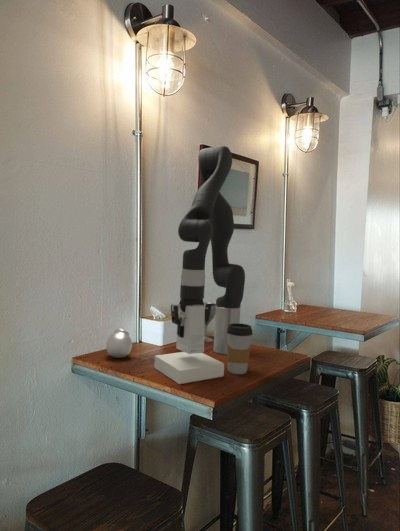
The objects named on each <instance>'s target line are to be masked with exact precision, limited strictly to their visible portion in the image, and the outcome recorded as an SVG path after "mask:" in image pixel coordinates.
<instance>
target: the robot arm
mask: <svg viewBox="0 0 400 531" xmlns="http://www.w3.org/2000/svg"><path fill="white" fill-rule="evenodd" d="M197 159H198V160H197V161H198V168H199V172H200V178H201V183H202V185H201V186H200V187H199V188H198V189H197V190H196V192H195V194H194V196H193V200H192V204H191V206H190V208H189V210H188V211H187V212H186V214H185V215H184V216H183V218H182V220H181V221H180V222H179V225H178V230H177V232H178V233H177V234H178V237H179V239H180V240H181V241H183V242H187V243H188V242H189V243H198V244H197V247H196V248H193V249H192V248H191V249H186V250H184V251H183V253H182V267H181V268H182V269H181V275H180V289H179V291H180V292H179V299H180V300H179V302H178V303H176V304H173V303H172V304H170V315H171V322H172V323H173V324H175V325H176V336H177V335H178V336H179V337H180V338H183V337H184V326H183V325H184V323H185V319H186V314H185V315H184V316H183V315H181V312H180V314H179V315H178V311H179V308H180V309H181V310H182V312H185V309H186V306H187V305H203V306H205V322H208V321H209V316H210V311H211V304H210V303H211V302H205V303H204V298H205V288H206V287H205V285H206V268H205V267H206V257H207V256H206V255H207V253H208V249H209V245H210V246H211V259H212V260H211V263H212V276H213V278H212V279H213V282H214V283H215V285H217V286H218V287H221V288H224V289H225V292H224V294H223V295H222V296H218V297H217V298H216V300H215V304H216V314H215V317H214V332H213V334H214V335H213V340H214V341H213V352H214V353H216V354H221V355H227V328H228V327H229V324H234V323H240V322H241V321H240V320H241V319H240V318H241V305H242V304H241V303H242V302H243V299H244V293H245V283H246V272H245V269H244V267H243V266H241V264H236V263H229V262H230V261H229V256H228V250H229V244H230V242H231V240H232V238H233V234H234V230H235V221H234V213H233V208H232V206H231V204H229V201H227V199H226V198H225V197H224V195H222V193H221V192H220V191H221V189H222V187H223V186H224V184H225V182H226V179H227V177H228V176H229V174H230V171H231V168H232V165H233V156H232V151H231V150H230V148H229V147H228V146H226V145H219V146H211V147H206V148H202V149H200V151H199V152H198V158H197ZM181 319H182V320H181ZM240 324H241V323H240ZM177 326H178V327H177Z"/></svg>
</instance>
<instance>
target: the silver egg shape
mask: <svg viewBox="0 0 400 531" xmlns="http://www.w3.org/2000/svg"><path fill="white" fill-rule="evenodd" d="M105 348H106V351H107V353H108V354H109V355H110V356H111V357H113V358H115V359H121V358H125V357H127V356H128V355H129V354H130V352H131V350H132V349H133V342H132V338H131V337H130V333H129V331H127V330H126V329H125V328H123V327H119V328H116V329H115V330H114V331H113V332H112V334H110V335H109V337H108V338H107V340H106V343H105Z"/></svg>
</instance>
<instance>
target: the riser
mask: <svg viewBox="0 0 400 531" xmlns="http://www.w3.org/2000/svg"><path fill="white" fill-rule="evenodd" d="M154 369H156V370H157V371H159V372H160V373H162V374H163V375H164V376H166V377H168V378H169V379H171V380H172V381H174V382H176V383H177V384H179V385H182V384H187V383H193V382H199V381H204V380H205V381H206V380H210V379H216V378H221V377H224V375H225V374H224V373H225V363H223V362H222V361H220V360H218V359H216V358H214V357H211V356H209V355H207V354H206V353H194V354H188V353H186V352H184V351H181V352H180V351H179V352H172V353H163V354H156V355H154Z"/></svg>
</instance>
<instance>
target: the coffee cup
mask: <svg viewBox="0 0 400 531" xmlns="http://www.w3.org/2000/svg"><path fill="white" fill-rule="evenodd" d="M253 334H254V333H253V329H252V325H250V324H247V323H246V324H245V323H234V324H229V327H228V328H227V354H226V359H227V360H226V362H227V370H228V372H229V373H230V374H234V375H245V374H246V373H247V371H248V367H249V362H250V352H251V345H252V336H253Z"/></svg>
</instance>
